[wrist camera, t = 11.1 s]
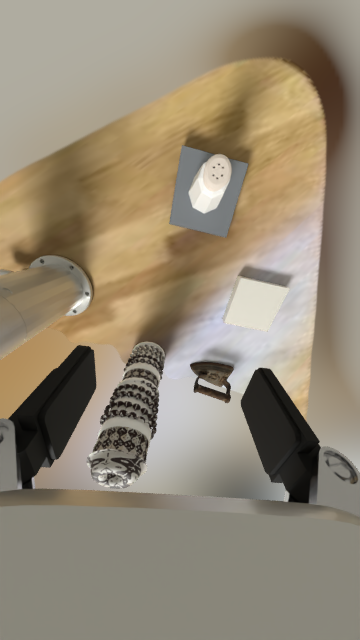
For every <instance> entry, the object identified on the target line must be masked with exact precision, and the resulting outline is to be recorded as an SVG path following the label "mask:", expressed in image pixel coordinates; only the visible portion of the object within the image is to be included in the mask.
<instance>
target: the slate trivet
mask: <svg viewBox="0 0 360 640" xmlns="http://www.w3.org/2000/svg"><path fill="white" fill-rule="evenodd" d="M213 155H215V154H211V153H208V152H204V151H201V150H197V149H194V148H190V147H186V146H183V145H182V149H181V155H180V161H179V167H178V173H177V180H176V186H175V192H174V198H173V204H172V210H171V217H170V223H169V224H171V225H175V226H179V227H183V228H188V229H192V230H196V231H200V232H204V233H208V234H212V235H216V236H221V237H227V233H228V230H229V227H230V223H231V220H232V217H233V213H234V210H235V207H236V203H237V200H238V197H239V194H240V190H241V187H242V184H243V180H244V177H245V174H246V170H247V167H248V164H247V163H244V162H240V161H236V160H233V159H229V158H228V159H229V161H230V163H231V167H232V173H231V177H230V181H229V183H228V186H227V188H226V190H225V192H224V194H223V196H222V198H221V200H220V202H219V204H218V206H217V208H216V209H214V210H211V211H209V212H207V213H202V212H200V211H198V210H196V209H195V208H193V207H192V203H191V200H190V196H189V193H188V192H189V190H190V187H191V185H192V182H193V180H194V177H195V176H196V174H197V172H198V171H199V169H200V168H201V166H202V165H203V164H204V163H205V162H207V161H208V160H209V159H210V158H211V157H212V156H213Z"/></svg>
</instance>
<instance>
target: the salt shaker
mask: <svg viewBox="0 0 360 640" xmlns="http://www.w3.org/2000/svg"><path fill="white" fill-rule="evenodd" d="M231 173H232V167H231V163H230V161H229V159H228V158H227V157H226V156H225V155H223V154H216V155H213V156H212V157H211V158H210V159H209V160H208V161H207V162H205V163H204V164H203V165H202V166H201V168H200V169H199V171H198V172H197V174H196V176H195V177H194V180H193V182H192V185H191V187H190V190H189V192H188V193H189V196H190V200H191V203H192V207H193V208H195V209H196V210H198V211H200V212H202V213H207V212H209V211H211V210H214V209H216V208H217V206H218V204H219V202H220V200H221V198H222V196H223V194H224V192H225V190H226V188H227V186H228V183H229V181H230V177H231Z"/></svg>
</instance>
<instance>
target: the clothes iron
mask: <svg viewBox="0 0 360 640" xmlns="http://www.w3.org/2000/svg"><path fill="white" fill-rule="evenodd" d="M190 367H191V369H192V370H193V372H194V373H195V374H196V375H198V377H197V379H196V381H195V385H194V392H195V393H196V392H199V393H202V394H205V395H208V396H211V397H213V398H217V399H219V400H222V401H225V403H229V401H230V398H231V396H230V389H231V386H230V384H229V382H227V381H226V380H227V379H228V377H229V376H230V374H231V373H232V371H233V370H234V368H233V367H231V366H228V365H224V364H219V363H213V362H199V363H194V364H191V365H190ZM199 378H202V379H204V380H205V381H207V382H209V383H212V384H214V385H217V386H219V387H222V386H223V385H224V386H225V387H226V388H227V392H226V394H225V393H222V392H219V391H216V390H213V389H210V388H207V387H204V386H201V385H199V384H198V379H199Z"/></svg>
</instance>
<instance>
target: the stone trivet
mask: <svg viewBox="0 0 360 640" xmlns="http://www.w3.org/2000/svg"><path fill="white" fill-rule="evenodd" d="M288 291H289V288H287V287H286V286H283V285H278V284H274V283H269V282H265V281H261V280H256V279H252V278H247V277H243V276H238V277H237V280H236V282H235V285H234V288H233V291H232V293H231V296H230V299H229V302H228V304H227V307H226V310H225V313H224V315H223V318H222V320H223V322H224V323H227V324H231V325H236V326H241V327H246V328H251V329H256V330H261V331H266V332H268V330H269V328H270V326H271V324H272V322H273V320H274V318H275V316H276V314H277V312H278V310H279V308H280V306H281V304H282V303H283V301H284V299H285V297H286V295H287V293H288Z"/></svg>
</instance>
